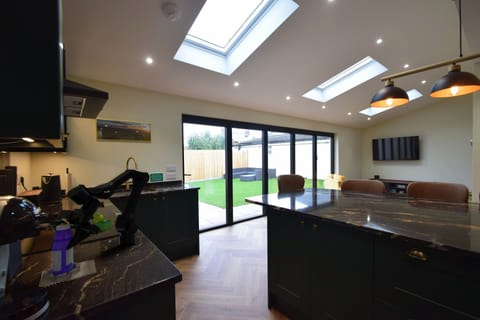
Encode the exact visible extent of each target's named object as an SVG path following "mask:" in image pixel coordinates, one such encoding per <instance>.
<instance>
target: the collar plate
mask: <svg viewBox="0 0 480 320" xmlns="http://www.w3.org/2000/svg"><path fill="white" fill-rule="evenodd" d="M96 274H97V269H96V264H95V259H91V260H85V261H83V262H82V261H81V262H77V261H76V262H74V261H73V268H72V269H71V271H70V272H68V273H63V274H59V275H57V276H54V275H53V274H52V267H49V268H48V269H46V270H43V271H42V272H41V277H40V279H39V283H38V286H39V287H44V288H47V286H48V287H51V286H50V285H52V286H54V285H53V284H55V285H57V284H56V283H59V284H61V283H60V282H63V283H66V282H70V281H73V280H76V279H81V278H84V277H88V276H92V275H96ZM65 281H66V282H65Z"/></svg>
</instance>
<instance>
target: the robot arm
mask: <svg viewBox="0 0 480 320" xmlns="http://www.w3.org/2000/svg"><path fill="white" fill-rule="evenodd" d="M150 177H151V176H150V174H149V173H148V172H147V171H139V170H136V169H134V168H129V169H128V168H127V169H125V170H124V171H123V172H121V173H120V174H118V175H116V176H115V177H114V178H112V179H111V180H109V181H107V182H105V183H101V184H98V185H97V186H94V187H93V188H91V189H88V187H87V186H86V185H85V184H78V185H76V186H75V187H73V188H71V189H69V190H68V192H67V193H66V194H65V195H66V198H67V199H69V200H70V201H71V202H73V203H74V204H76V205H77V206H80V207H79V208H74V209H71V210H70V209H60V211H59V213H58V215H57V219H55V220H54V219H53V220H52V221H51V223H49V226H50V227H51V228H53V229H54V231H55V232H54V233H55V234H56V226H58V225H62V224H70V230H75V231H74V234H73V237H72V239H71V241H70V242H69V244H68V245H67V247H66V250H69V249H71V248H72V247H73V248H74V247H75V246H76V245H78V244H79V243H81V242H83V241H84V240H86V239H87V238H90V237H92V236H98V234H99V233H100V227H98V226H97V225H96V224H94V223H93V222H91V221H93V219H94V218H95V217H93V215H94V214H96V213H97V212H98V210H99V209H104V208H105V202H104V200H109V199H110V198H111V197H112V196H113V195H114V194H115V192H116V190H117V189H118V188H120V187H121V186H122V185H123V184H125V183H127V182H128V181H129V180H131V183H132V188H131V190H130V194H129V197H128V199H127V202H126V205H125V207H124V210H123V212H122V213H121V214H117V217H116V220H115V221H114V223H115V224H114V228H115V230H116V233H118V234H119V236H118V245H119V246H120V247H121V248H124V247H125V248H126V247H130V246H134V245H136V241H135V239H136V238H135V237H136V236H135V235H136V233H138V231H139V227H138V225H136V224H135V222H136V218H135V212H136V208H137V207H138V206H137V205H138V203H139V200H140V198H141V197H140V196H141V194H142V191H143V189H144V188H145V187H146V186H147V185H148V183H149V181H150ZM100 200H103V201H100ZM55 234H54V235H55ZM53 243H54V240H53V239H52V243H51V246H50V248H51V249H52V247H53Z"/></svg>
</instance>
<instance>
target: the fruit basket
mask: <svg viewBox="0 0 480 320" xmlns="http://www.w3.org/2000/svg"><path fill="white" fill-rule="evenodd" d="M93 217H95V218H94V219H93V220H90V222H93V223H94V224H96V225H97V226H98V227H100V231H101V232H103V231H107V230H108V229H111V226H112V223H113V220H112V219H106V218H105V219H104V215H102V214H100V213H99V212H95V214H94V215H93ZM100 231H99V232H100Z"/></svg>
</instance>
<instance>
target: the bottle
mask: <svg viewBox="0 0 480 320" xmlns="http://www.w3.org/2000/svg"><path fill="white" fill-rule="evenodd" d="M71 230H72V229H70V224H69V223H68V224H62V225H58V226H56V232H55V233H56V234H54V237H53V239H52V241H53V240H54V243H53V247H52V248H51V251H52V252H51V255H52V256H51V260H52V261H51V268H52V274H53V275H54V276H57V275H59V274H63V273H68V272H70V271H71V269H72V268H73V262H74V247H72V248H71V249H69V250H66V247H67V245H68V244H69V242H70V241H71V239H72V238H73V236H74V234H73V233H72V231H71Z"/></svg>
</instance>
